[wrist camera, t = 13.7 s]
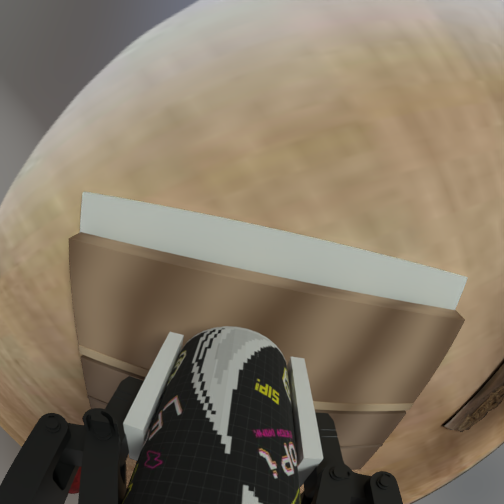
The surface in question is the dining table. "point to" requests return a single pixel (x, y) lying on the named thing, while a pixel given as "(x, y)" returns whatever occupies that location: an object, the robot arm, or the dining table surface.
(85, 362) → the laid board
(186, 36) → the dining table surface
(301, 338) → the plank
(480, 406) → the wooden fragment
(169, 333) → the robot arm
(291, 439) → the beverage can
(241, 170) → the dining table surface
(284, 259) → the underlay mat
